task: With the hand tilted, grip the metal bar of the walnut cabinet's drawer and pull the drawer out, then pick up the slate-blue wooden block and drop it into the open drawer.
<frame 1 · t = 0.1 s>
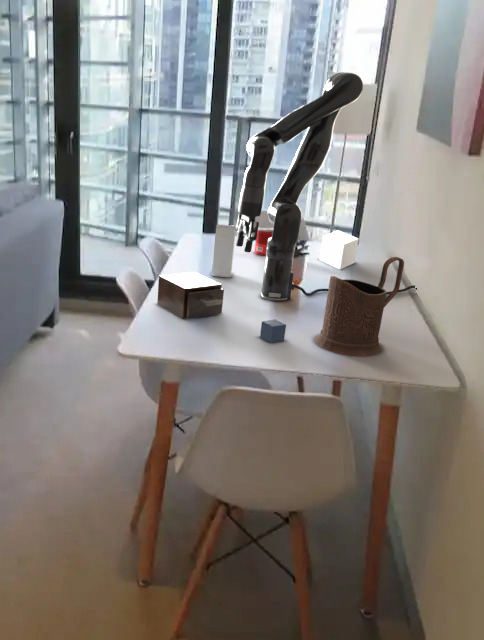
hand: (243, 249, 240), 17 cm above the table, tool pointing down, fingers open, 8 cm apart
drawer: (197, 299, 227), point 5 cm above the table, slide at 1.0 cm
cup holder: (355, 343, 210), on the table
milk carton: (221, 275, 274), on the table
block: (271, 339, 210), on the table
cabinet: (187, 309, 233), on the table
canned food: (263, 254, 310), on the table
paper: (337, 261, 303), on the table
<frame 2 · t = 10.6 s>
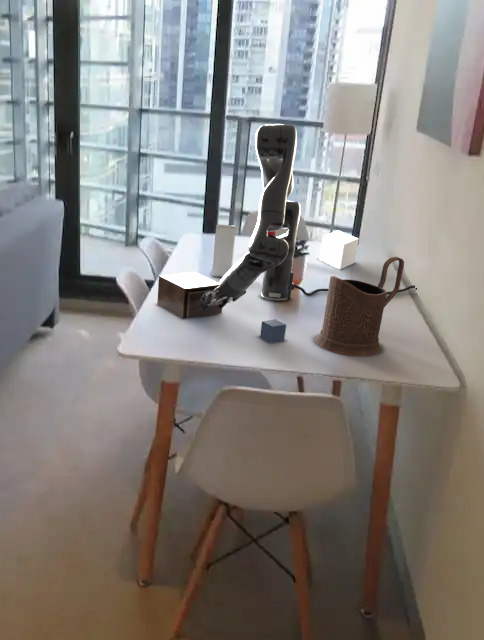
hand: (211, 306, 221), 5 cm above the table, tool tilted 45°, fingers closed on drawer, 5 cm apart
drawer: (197, 299, 227), point 5 cm above the table, slide at 1.0 cm, touching gripper
everything else where it was.
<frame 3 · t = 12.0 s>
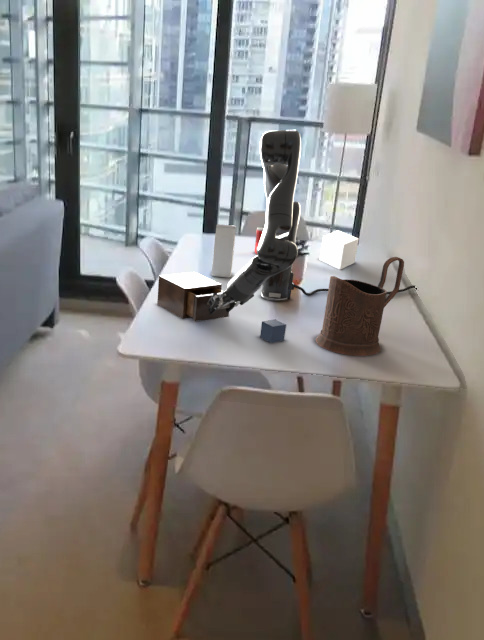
hand: (218, 310, 218), 5 cm above the table, tool tilted 45°, fingers closed on drawer, 5 cm apart
drawer: (204, 302, 224), point 5 cm above the table, slide at 4.8 cm, touching gripper
everything else where it was.
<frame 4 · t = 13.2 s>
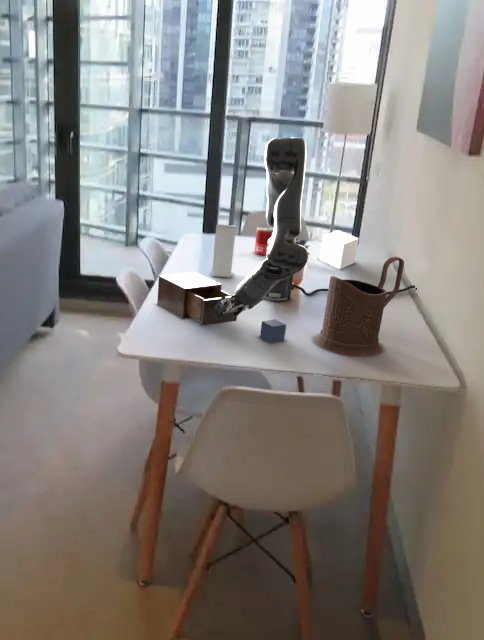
hand: (226, 314, 215), 5 cm above the table, tool tilted 45°, fingers closed on drawer, 5 cm apart
drawer: (211, 306, 221), point 5 cm above the table, slide at 8.9 cm, touching gripper
everything else where it was.
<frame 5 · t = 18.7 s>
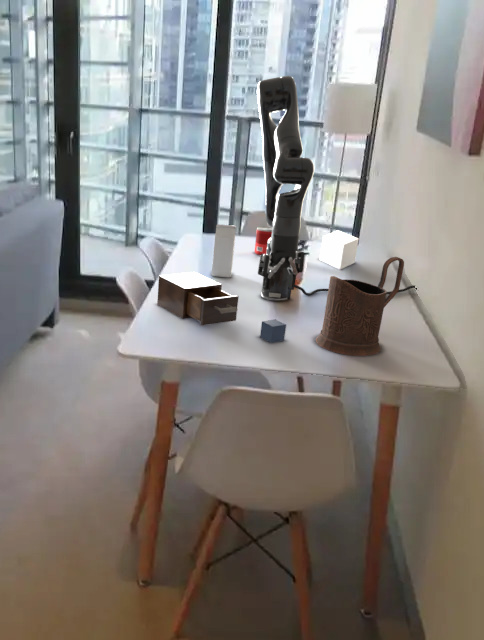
hand: (278, 288, 204), 15 cm above the table, tool pointing down, fingers open, 8 cm apart
drawer: (211, 306, 221), point 5 cm above the table, slide at 8.6 cm
everything else where it was.
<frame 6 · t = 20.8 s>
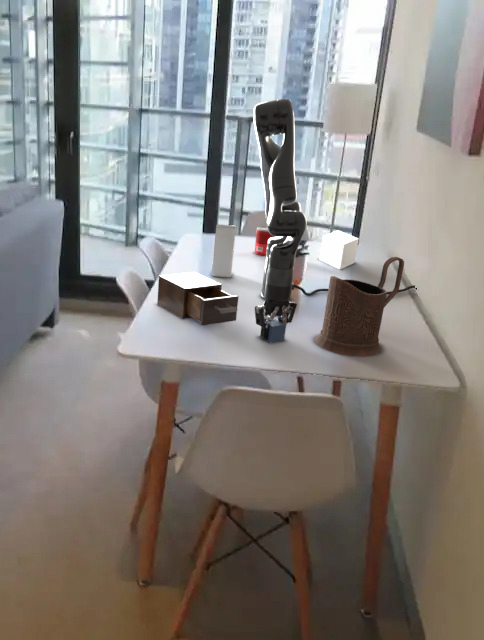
hand: (272, 337, 210), 0 cm above the table, tool pointing down, fingers closed on block, 5 cm apart
block: (271, 339, 210), on the table, touching gripper
everything else where it was.
when the fingers open (8 cm above the table, at t = 26.6 s): block drops 5 cm, resting on drawer.
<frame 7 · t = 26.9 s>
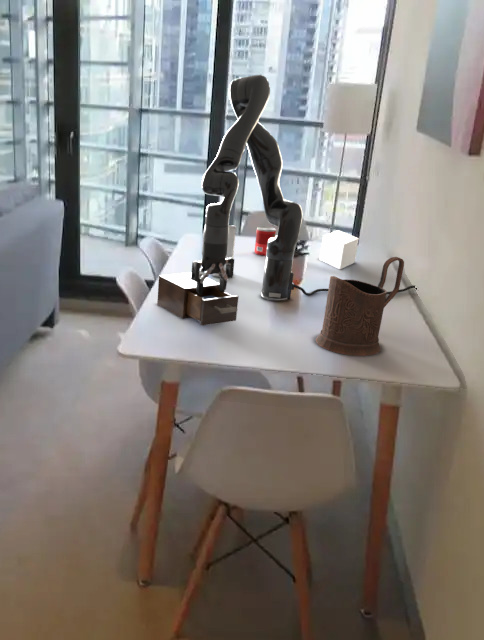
hand: (210, 292, 220), 9 cm above the table, tool pointing down, fingers open, 7 cm apart
drawer: (211, 306, 221), point 5 cm above the table, slide at 8.6 cm, touching block
block: (208, 313, 223), point 2 cm above the table, touching drawer
everything else where it was.
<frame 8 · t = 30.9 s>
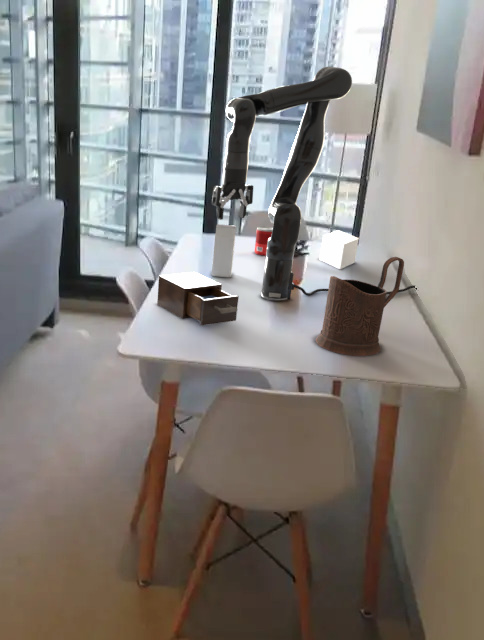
hand: (230, 218, 231), 28 cm above the table, tool pointing down, fingers open, 8 cm apart
nothing on the table moved.
at the end: drawer slide at 8.6 cm; block inside the target area in the drawer (0.2 cm from its centre), point 2.1 cm above the cabinet's base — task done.
